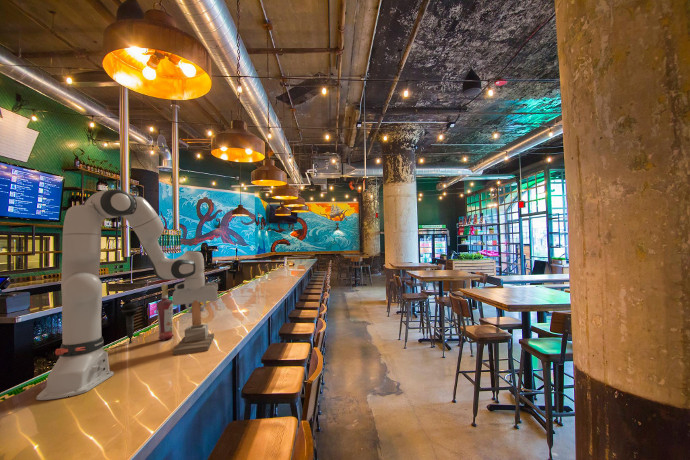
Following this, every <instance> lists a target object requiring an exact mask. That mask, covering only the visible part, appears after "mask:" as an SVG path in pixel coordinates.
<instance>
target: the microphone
mask: <svg viewBox="0 0 690 460" xmlns="http://www.w3.org/2000/svg"><path fill="white" fill-rule="evenodd" d="M138 309H139V308H138V306H137V305H136V304H135V303H131V302H129V303H126V304H124V305H123V306H122V308H121V311H120V312H121V313H122V315H123V316H124V317H125V322H126V325H125V326H126V337H127V338H128V339H129V341H128V344H130V343H131V344H132V343H133V341H132V339H133V337H134V322H135V321H134V315H136V313H137V312H138Z"/></svg>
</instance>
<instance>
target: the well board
mask: <svg viewBox="0 0 690 460" xmlns="http://www.w3.org/2000/svg"><path fill="white" fill-rule="evenodd" d="M214 339H215V333H214V332H213V333H212V332H211V333H209V324H208V323H203V324H202V323H201V325H197V326H193V325H187V326H186V328H185V329H184V336H183V337H182V338H181V340H180V341H179V342H178V344H177V345H176V346H175V347H174V349H173V350H172V356H178V355H185V354H193V353H199V352H200V353H201V352H207V351H209V349H210V347H211V345H212V343H213V341H214Z"/></svg>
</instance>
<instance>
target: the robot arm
mask: <svg viewBox="0 0 690 460" xmlns="http://www.w3.org/2000/svg"><path fill="white" fill-rule="evenodd" d="M119 217H122V218H123V219H125V220H126V221H127V222H128V224H129V226H130V227H131V229H132V230H133V231H134V233H135V234H136V236H137V238H138V240H139V242H140V245H141V247H142V248H143V251H144V252H145V254H146V256H147V258H148V259H149V261H150V263H151V264H152V268H153V274H154V275H155V277H156V278H158V279H159V280H162V281H168V280H174V281H175V280H183V279H184V281H181V282H179V283H176V284H175V285H174V291H173V292H172V297H171V298H172V299H171V300H172V304H173V306H182V305H185V308H186V309H187V311H188V312H187V313H188V314H192V308H190V304H191V303H193V302H194V301H195V300H197V302H198V303H199V302H200V303H202V304H203V305H202V307H201V308H200V309H201V313H202V312H204V311H205V306H206V305H207V303H208V302H217V301H218V299H219V296H218V290H219V284H218V283H217V282H215V281H211V282H209V281H208V282H206V278H205V277H206V276H205V273H204V272H205V259H204V256H203V253H202V252H201V251H199V250H186V251H184V253H183V254H182V255H180V256H178V257H176V258H168V257H167V256H166V255H165V253H164V251H163V249H162V247H161V246H160V244H159V238H160V237H161V236H162V235H163V233H164V230H165V226H164V223H163V221H162V219H161V218H160V216H159V214H158V213H157V212H156V210H155V209H154V208H153V207H152V205H151V204H150V203H149V202H148V201H147V200H146V199H145V197H142V196H133V195H131V194H129V193H128V191H125V190H122V189H118V188H111V189H105V190H100V191H97V192H94V193H92V194H90V195H89V196H88V197H86V199H85V200H84V201H83V203H82V204H77V205H73V206H71V207H69V208H68V209H66V213H65V216H64V221H63V227H62V244H61V245H62V249H61V250H62V252H61V254H62V255H61V279H60V281H61V282H60V284H61V285H60V287H61V288H60V290H61V328H62V331H61V332H62V334H61V335H62V343H61V345H60V348H56V349H55V351H54V352H55V355H56V356H59V357H58V359H57V361H56V363H55V364H54V365H53V367H52V369H51V370H50V371H49V374H48V376H47V377H46V386H45V388H43V390H42V391H41V392H39V393H38V395H36V398H35V399H36V400H37V401H47V400H48V401H49V400H56V399H62V398H67V397H68V396H69V397H73V396H76V395H77V396H78V395H80V394H84V393H87V392H89V391H90V390H92V389H94V388H95V387H97V386H99V385H100V384H101V383H103V382H104V381H106V380H108V379H109V378H110V377H112V376H114V375H115V374H114V373H115V372H114V371H112V370H110V364H109V363H110V361H109V354H108V352H107V351H106V350H105V349H104V337H103V336H102V308H103V307H102V306H103V303H102V301H103V284H102V280H101V279H100V269H101V268H100V266H101V256H102V224H103V222H104V220H105V219H113V218H115V219H116V218H119ZM69 397H68V398H69Z"/></svg>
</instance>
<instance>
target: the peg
mask: <svg viewBox="0 0 690 460" xmlns="http://www.w3.org/2000/svg"><path fill="white" fill-rule="evenodd" d="M201 303H202V302H199V303H198V302H197V300H195V301H194V302H193V303H191V309H192V313H191V323H192V325H193V326H197V325H201V324H202V312H201V309H200V308H201ZM192 325H191V326H192Z"/></svg>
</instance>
